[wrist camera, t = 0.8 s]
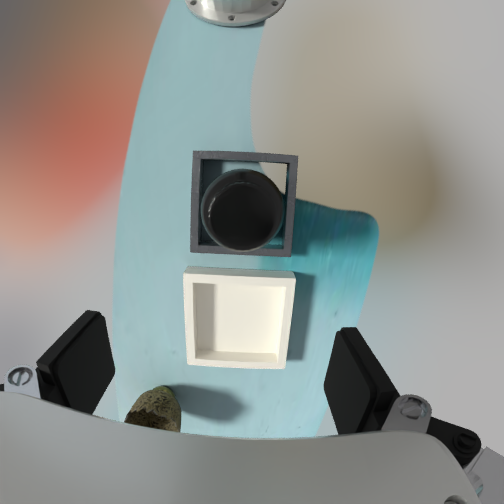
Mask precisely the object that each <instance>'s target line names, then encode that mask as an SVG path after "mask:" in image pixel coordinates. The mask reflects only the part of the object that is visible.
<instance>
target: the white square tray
mask: <svg viewBox="0 0 504 504" xmlns="http://www.w3.org/2000/svg"><path fill="white" fill-rule="evenodd" d="M183 283H184V312H185V332H186V349H187V363H188V364H189V365H200V366H213V367H230V368H255V369H285V363H286V356H287V349H288V341H289V334H290V326H291V318H292V309H293V301H294V292H295V283H296V278H295V275H294V273H293V271H274V270H251V269H230V268H210V267H191V266H188V267H187V268H186V270H185V271H184V273H183Z"/></svg>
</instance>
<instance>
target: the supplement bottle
mask: <svg viewBox="0 0 504 504" xmlns="http://www.w3.org/2000/svg"><path fill="white" fill-rule="evenodd" d="M284 212H285V211H284V201H283V198H282V195H281V193H280V191H279V189H278V187H277V186H276V185H275V184H274V182H273V181H272V180H271V179H269V178H268V177H267V176H265V175H264V174H262V173H260V172H257V171H254V170H249V169H236V170H231V171H228V172H226V173H224V174H222V175H220V176H219V177H217V178H216V179H215V180H214V181H213V182H212V183H211V184H210V185H209V187H208V188H207V190H206V191H205V194H204V196H203V199H202V203H201V218H202V222H203V225H204V228H205V230H206V231H207V233H208V234H209V236H210V237H211V238H212V239H213V240H214V241H215V242H216V243H217V244H219V245H220V246H222V247H224V248H226V249H229V250H232V251H237V252H248V251H253V250H256V249H259V248H261V247H263V246H265V245H266V244H268V243H269V242H270V241H271V240H272V239H273V238H274V237H275V236H276V235H277V233H278V232H279V230H280V228H281V226H282V223H283V219H284Z"/></svg>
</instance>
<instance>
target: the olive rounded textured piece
mask: <svg viewBox="0 0 504 504" xmlns="http://www.w3.org/2000/svg"><path fill="white" fill-rule="evenodd" d="M124 423H128V424H133V425H138V426H143V427H149V428H154V429H160V430H166V431H173V432H180V429H181V408H180V405H179V403H178V402H177V400H176V399H175V395H174V393H173V391H172V390H171V389H169V388H167V387H164V386H157V387H155V388H154V389H153V390H149V391H147V392H145V393H143V394H142V395H141V396H140V397H139V398H138V399H137V401H136V402H135V403H134V405H133V406H132V408H131V410H130V411H129V413H128V414H127V415H126V418H125V421H124Z"/></svg>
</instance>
